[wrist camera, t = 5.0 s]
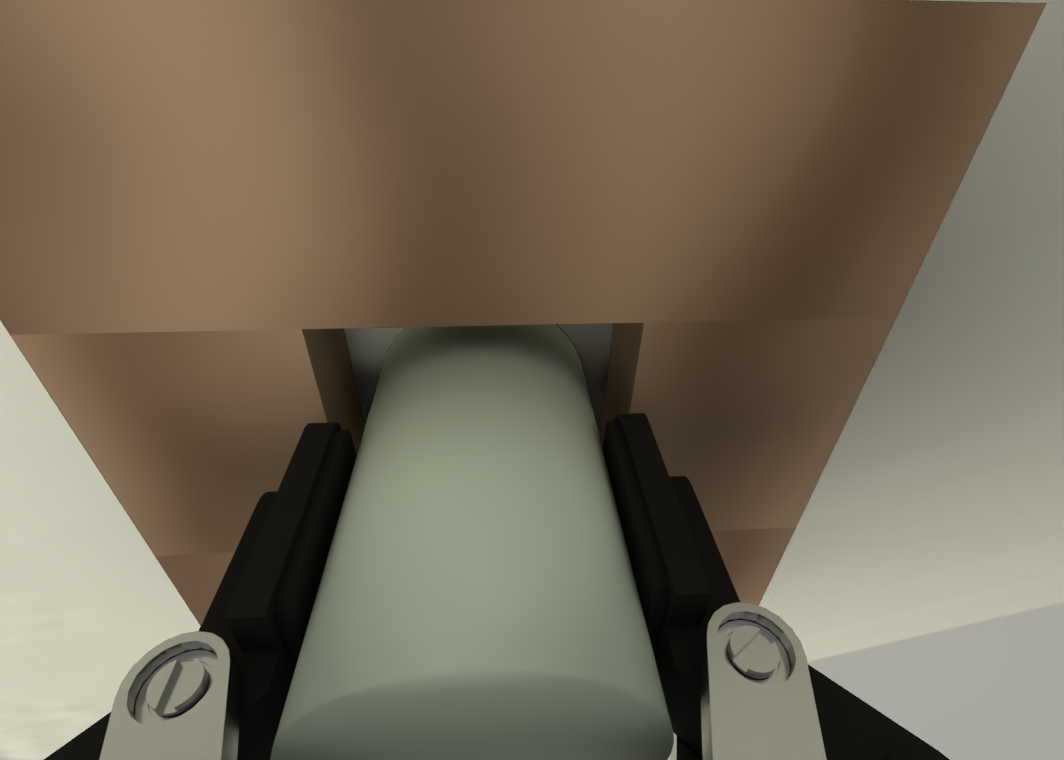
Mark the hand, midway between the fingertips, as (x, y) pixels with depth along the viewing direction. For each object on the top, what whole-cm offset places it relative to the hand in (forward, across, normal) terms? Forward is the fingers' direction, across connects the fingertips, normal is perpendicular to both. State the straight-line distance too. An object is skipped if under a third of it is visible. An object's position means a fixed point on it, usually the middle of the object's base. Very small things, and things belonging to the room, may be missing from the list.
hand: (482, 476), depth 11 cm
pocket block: (+3, 0, 0) cm, 3 cm away
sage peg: (+3, 0, 0) cm, 3 cm away
